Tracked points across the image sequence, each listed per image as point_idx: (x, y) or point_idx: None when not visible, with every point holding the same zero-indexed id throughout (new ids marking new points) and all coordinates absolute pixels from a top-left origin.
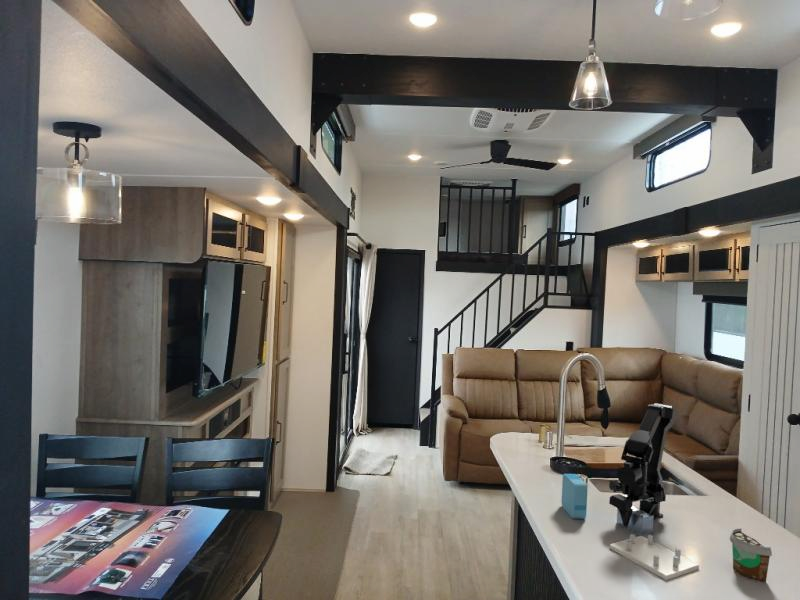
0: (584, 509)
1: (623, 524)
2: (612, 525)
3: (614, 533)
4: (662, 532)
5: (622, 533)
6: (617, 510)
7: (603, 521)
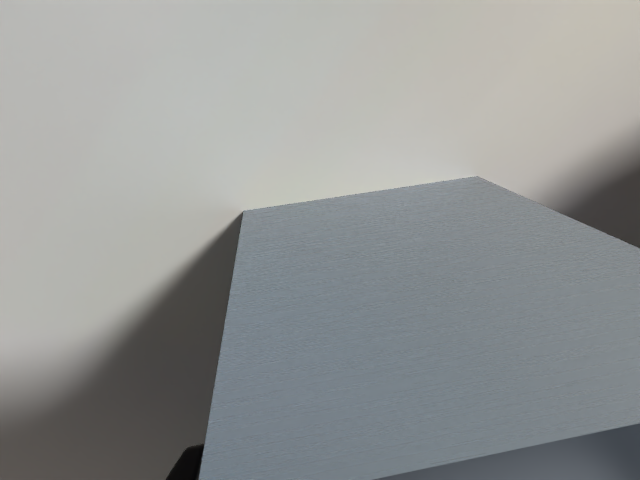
0: None
1: (175, 468)
2: (108, 276)
3: (3, 461)
4: None
5: (118, 467)
6: (222, 347)
7: (11, 109)
